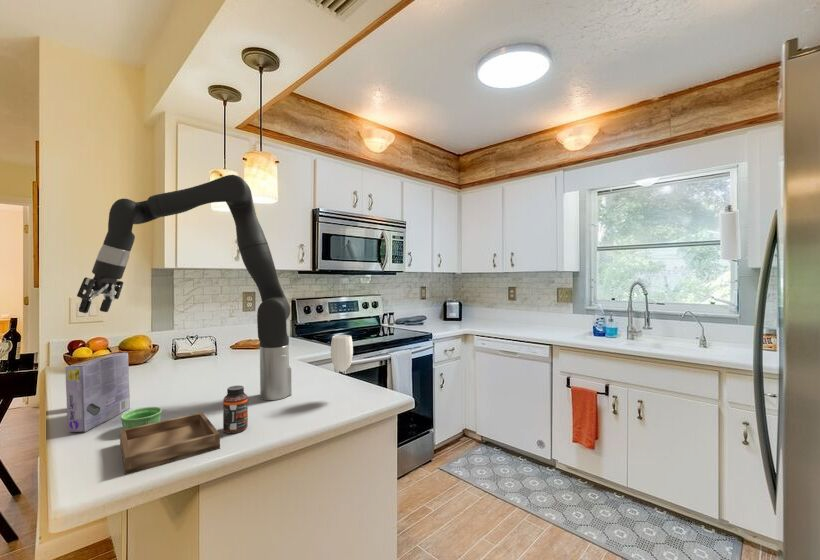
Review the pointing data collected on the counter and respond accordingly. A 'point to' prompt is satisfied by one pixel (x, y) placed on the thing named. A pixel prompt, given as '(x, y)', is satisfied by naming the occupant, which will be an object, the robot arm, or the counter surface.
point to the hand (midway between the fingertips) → (93, 311)
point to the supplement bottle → (235, 410)
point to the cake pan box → (97, 391)
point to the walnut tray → (167, 441)
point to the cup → (341, 352)
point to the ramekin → (141, 417)
